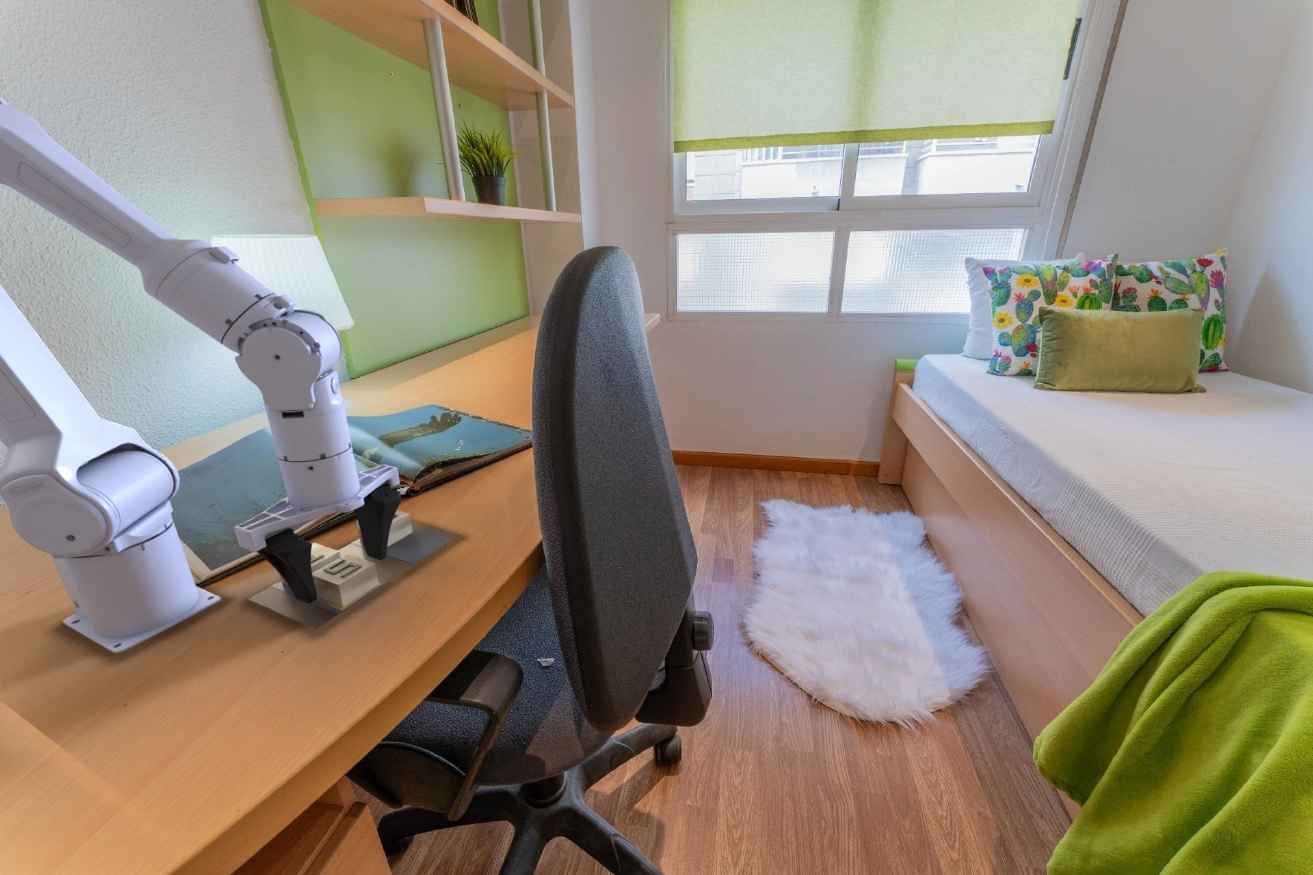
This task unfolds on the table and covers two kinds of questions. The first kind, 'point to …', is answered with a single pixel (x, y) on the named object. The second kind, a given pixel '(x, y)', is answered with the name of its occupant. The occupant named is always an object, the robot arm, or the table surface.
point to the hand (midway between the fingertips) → (343, 576)
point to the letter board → (394, 564)
